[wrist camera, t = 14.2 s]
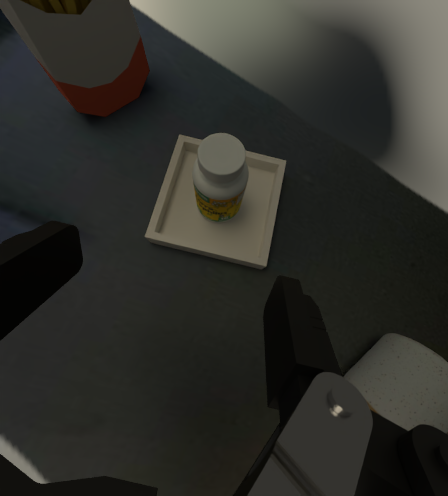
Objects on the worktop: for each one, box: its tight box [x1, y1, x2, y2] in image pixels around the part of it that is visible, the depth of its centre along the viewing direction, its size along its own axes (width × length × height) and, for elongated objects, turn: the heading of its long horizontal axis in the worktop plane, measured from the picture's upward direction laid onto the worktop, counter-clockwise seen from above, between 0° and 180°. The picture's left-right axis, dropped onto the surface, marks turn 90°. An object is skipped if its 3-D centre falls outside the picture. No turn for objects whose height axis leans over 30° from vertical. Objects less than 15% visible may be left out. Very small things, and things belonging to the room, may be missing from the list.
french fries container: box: [0, 0, 150, 117], centre depth 22 cm, size 5×11×18 cm, turn 131°
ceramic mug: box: [343, 333, 448, 433], centre depth 21 cm, size 11×8×8 cm
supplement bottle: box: [192, 133, 249, 223], centre depth 23 cm, size 5×5×10 cm
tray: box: [145, 134, 286, 269], centre depth 27 cm, size 14×14×2 cm
